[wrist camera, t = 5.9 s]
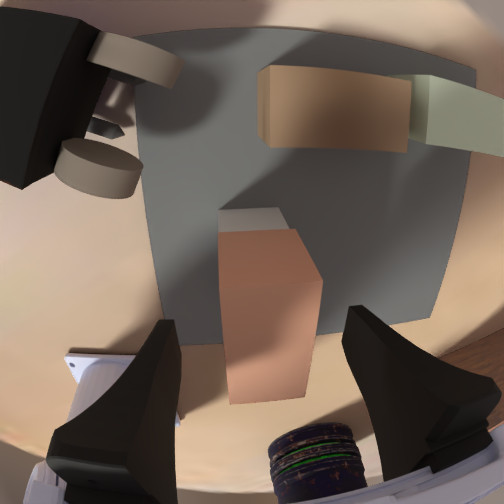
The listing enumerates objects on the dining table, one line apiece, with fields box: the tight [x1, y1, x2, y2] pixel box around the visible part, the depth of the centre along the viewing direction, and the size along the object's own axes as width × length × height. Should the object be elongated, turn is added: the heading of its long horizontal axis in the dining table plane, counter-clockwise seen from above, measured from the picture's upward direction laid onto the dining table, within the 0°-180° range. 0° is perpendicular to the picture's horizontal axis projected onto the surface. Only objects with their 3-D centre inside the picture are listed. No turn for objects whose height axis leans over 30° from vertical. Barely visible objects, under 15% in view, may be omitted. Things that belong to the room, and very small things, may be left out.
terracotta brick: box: [218, 229, 323, 404], centre depth 13 cm, size 6×3×4 cm, turn 0°
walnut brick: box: [257, 65, 411, 153], centre depth 13 cm, size 6×3×4 cm, turn 90°
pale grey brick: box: [218, 207, 289, 232], centre depth 17 cm, size 6×3×4 cm, turn 0°
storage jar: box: [268, 423, 368, 504], centre depth 24 cm, size 10×10×15 cm
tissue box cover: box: [438, 328, 504, 433], centre depth 28 cm, size 26×14×10 cm, turn 10°
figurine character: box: [0, 7, 185, 199], centre depth 9 cm, size 7×8×15 cm
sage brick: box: [387, 75, 504, 157], centre depth 13 cm, size 6×3×4 cm, turn 90°
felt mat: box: [133, 28, 476, 345], centre depth 17 cm, size 19×20×1 cm
